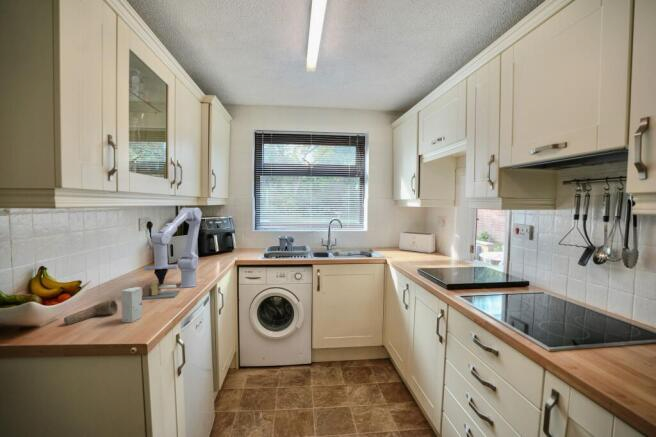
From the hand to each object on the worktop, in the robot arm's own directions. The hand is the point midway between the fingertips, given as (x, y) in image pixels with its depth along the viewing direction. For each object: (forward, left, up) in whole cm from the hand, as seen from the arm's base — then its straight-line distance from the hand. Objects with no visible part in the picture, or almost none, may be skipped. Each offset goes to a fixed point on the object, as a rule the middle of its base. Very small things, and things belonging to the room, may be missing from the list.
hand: (161, 284), depth 143 cm
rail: (0, 0, -6) cm, 6 cm away
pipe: (+26, -18, -6) cm, 32 cm away
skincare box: (+31, -2, -6) cm, 32 cm away
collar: (0, -2, -5) cm, 5 cm away
